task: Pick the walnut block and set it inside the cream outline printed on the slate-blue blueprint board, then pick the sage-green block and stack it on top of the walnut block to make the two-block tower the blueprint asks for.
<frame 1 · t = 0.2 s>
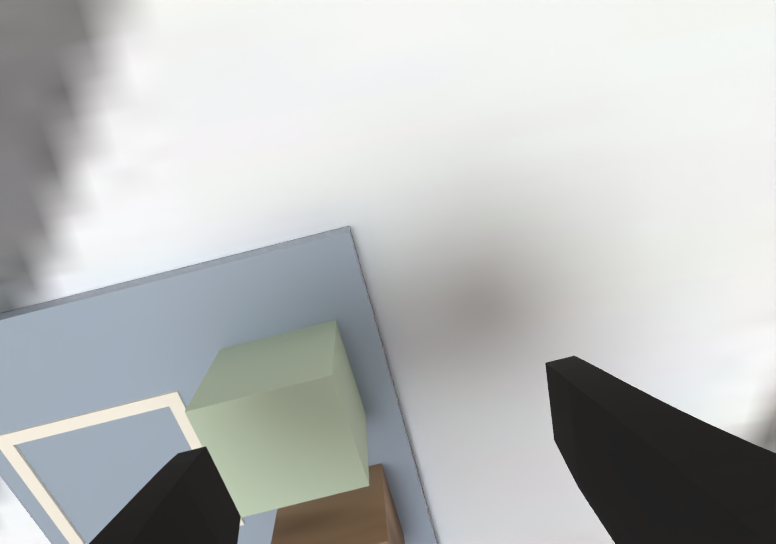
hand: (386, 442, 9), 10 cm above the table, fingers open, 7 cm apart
blueprint board: (225, 461, 21), on the table
sage block: (296, 383, 19), point 1 cm above the table, touching blueprint board
walnut block: (344, 511, 21), point 1 cm above the table, touching blueprint board
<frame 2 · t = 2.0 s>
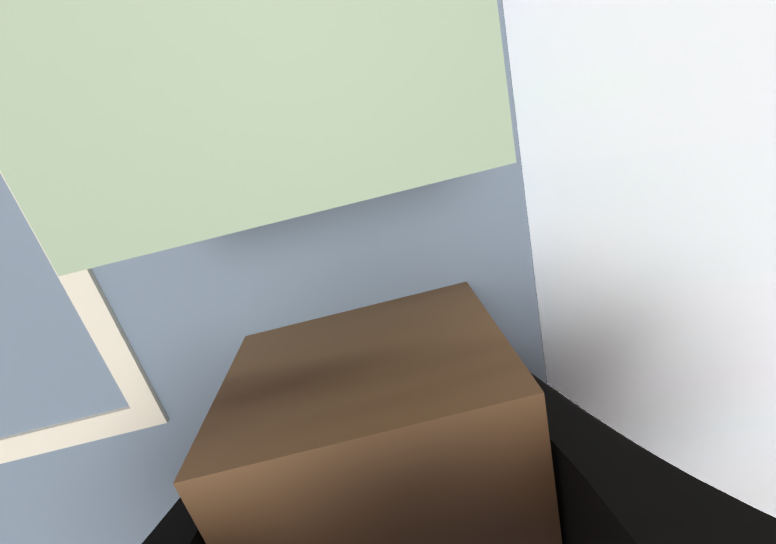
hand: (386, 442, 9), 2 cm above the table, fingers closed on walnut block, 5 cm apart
blueprint board: (127, 285, 10), on the table
sage block: (275, 30, 7), point 1 cm above the table, touching blueprint board
walnut block: (382, 400, 10), point 1 cm above the table, touching blueprint board, gripper
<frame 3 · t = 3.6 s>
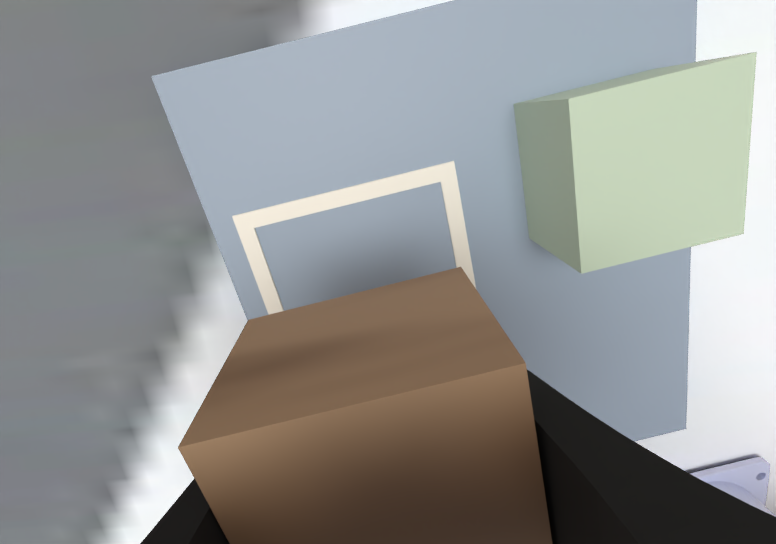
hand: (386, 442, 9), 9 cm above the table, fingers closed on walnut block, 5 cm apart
blueprint board: (466, 279, 18), on the table
sage block: (587, 158, 16), point 1 cm above the table, touching blueprint board
walnut block: (380, 382, 10), point 8 cm above the table, touching gripper
when the fingers open (3 cm above the table, at t = 5.2 s): walnut block stays where it is, resting on blueprint board.
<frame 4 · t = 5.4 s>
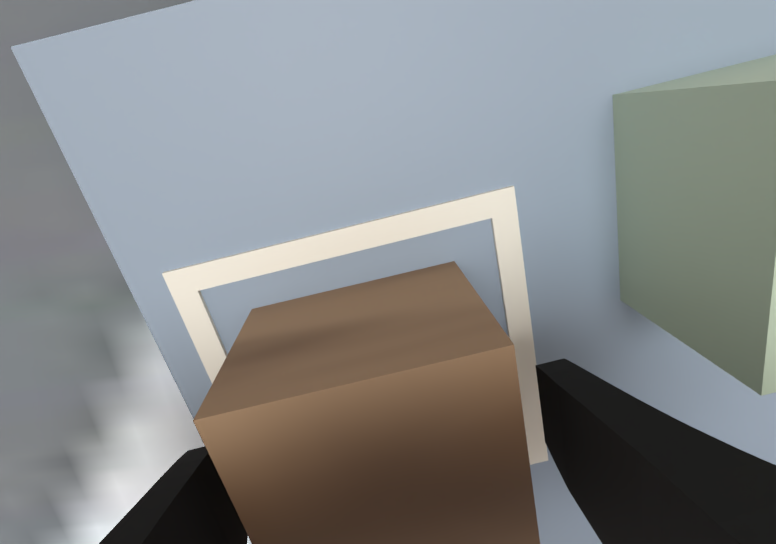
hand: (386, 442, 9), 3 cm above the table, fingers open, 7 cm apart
blueprint board: (518, 352, 12), on the table
sage block: (719, 181, 10), point 1 cm above the table, touching blueprint board
walnut block: (376, 371, 11), point 1 cm above the table, touching blueprint board
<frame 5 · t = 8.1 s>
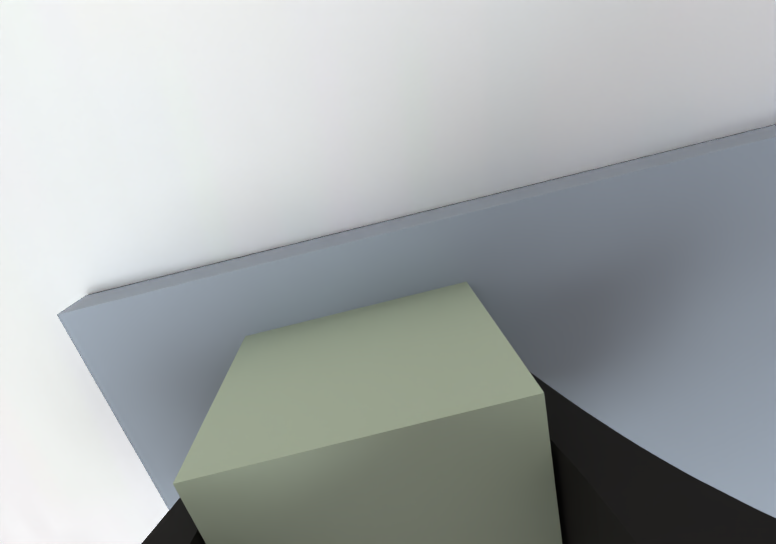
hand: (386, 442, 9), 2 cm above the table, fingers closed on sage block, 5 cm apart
blueprint board: (546, 480, 13), on the table
sage block: (382, 400, 10), point 1 cm above the table, touching blueprint board, gripper
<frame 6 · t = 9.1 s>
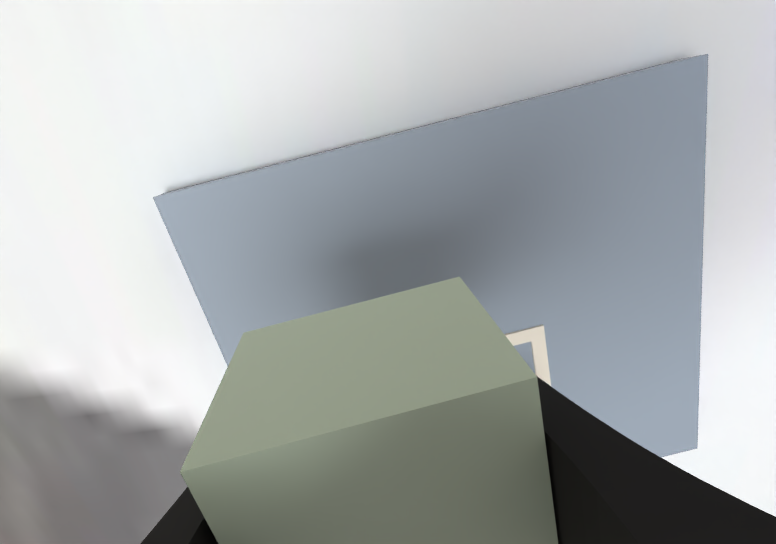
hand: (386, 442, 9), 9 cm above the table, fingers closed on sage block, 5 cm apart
blueprint board: (465, 333, 19), on the table
sage block: (378, 394, 10), point 8 cm above the table, touching gripper
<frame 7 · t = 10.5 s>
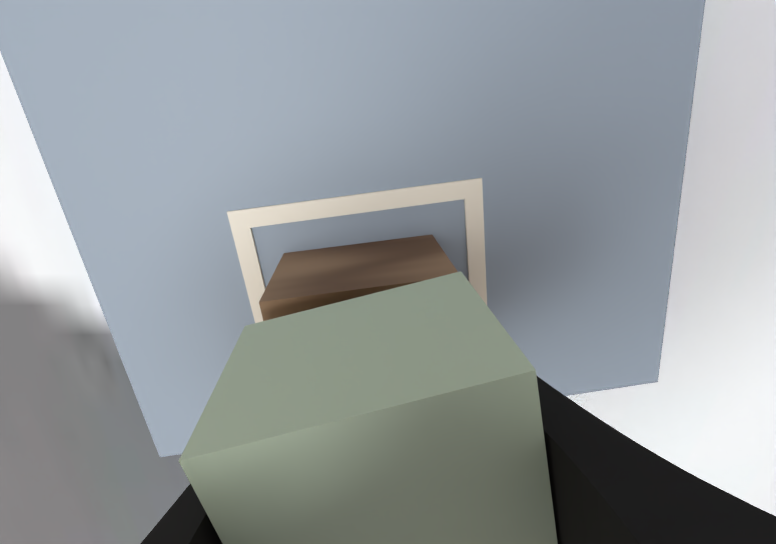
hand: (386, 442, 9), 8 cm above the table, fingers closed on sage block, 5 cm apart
blueprint board: (384, 188, 15), on the table
sage block: (379, 388, 10), point 6 cm above the table, touching gripper
walnut block: (367, 310, 15), point 1 cm above the table, touching blueprint board
when the fingers open (8 cm above the table, at t = 10.5 s): sage block stays where it is, resting on walnut block.
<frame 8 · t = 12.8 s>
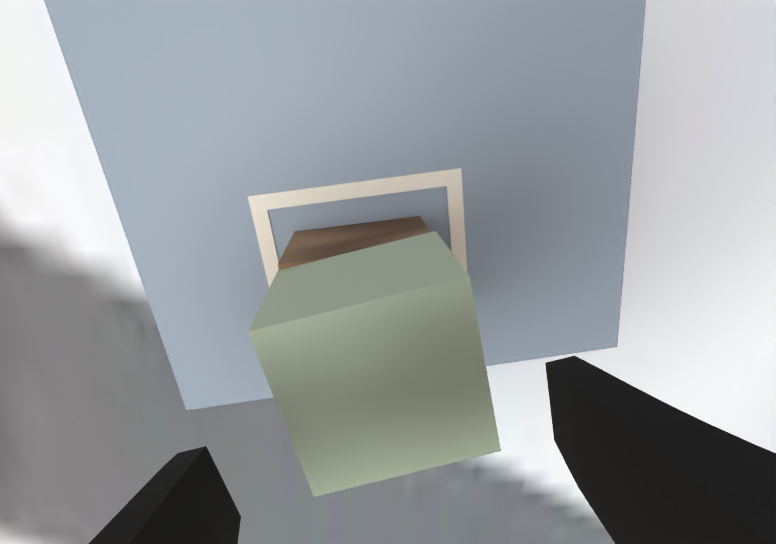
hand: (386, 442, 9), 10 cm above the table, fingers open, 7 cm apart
blueprint board: (379, 177, 17), on the table
sage block: (376, 321, 14), point 5 cm above the table, touching walnut block
walnut block: (365, 281, 18), point 1 cm above the table, touching blueprint board, sage block
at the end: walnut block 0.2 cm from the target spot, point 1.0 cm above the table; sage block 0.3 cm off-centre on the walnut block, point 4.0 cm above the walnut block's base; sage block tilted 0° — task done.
